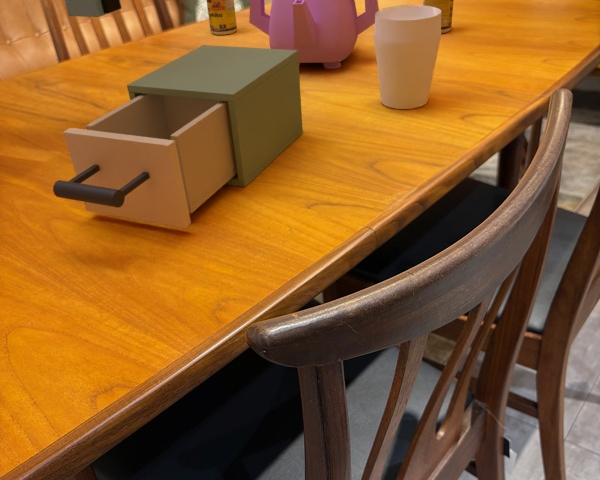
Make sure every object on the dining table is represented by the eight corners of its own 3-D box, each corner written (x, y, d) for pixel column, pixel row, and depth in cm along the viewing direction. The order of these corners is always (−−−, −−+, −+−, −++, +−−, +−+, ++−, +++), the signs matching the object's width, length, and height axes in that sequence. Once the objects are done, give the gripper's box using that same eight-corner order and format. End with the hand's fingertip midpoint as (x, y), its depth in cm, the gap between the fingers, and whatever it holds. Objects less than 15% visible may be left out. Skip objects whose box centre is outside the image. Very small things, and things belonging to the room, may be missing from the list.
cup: (391, 88, 94) (394, 2, 87) (446, 96, 89) (454, 7, 82) (361, 107, 88) (361, 17, 81) (418, 116, 84) (423, 23, 76)
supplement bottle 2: (453, 33, 117) (458, -27, 111) (423, 35, 117) (427, -25, 111) (448, 26, 121) (453, -32, 115) (419, 28, 122) (422, -30, 115)
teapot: (325, 39, 119) (322, -49, 110) (390, 57, 107) (393, -41, 97) (242, 62, 110) (231, -32, 101) (302, 84, 98) (295, -21, 89)
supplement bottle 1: (205, 34, 128) (197, -21, 122) (223, 27, 132) (216, -26, 126) (224, 36, 125) (217, -19, 119) (242, 30, 129) (236, -24, 123)
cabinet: (245, 187, 70) (233, 94, 63) (146, 172, 74) (126, 85, 68) (302, 133, 82) (297, 50, 75) (214, 123, 86) (203, 44, 80)
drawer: (151, 259, 57) (130, 172, 52) (49, 238, 61) (19, 155, 56) (255, 165, 72) (246, 90, 67) (167, 153, 77) (152, 82, 71)
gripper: (126, -225, 67) (167, 5, 81) (2, -209, 73) (60, 3, 87) (83, -229, 62) (134, 18, 76) (-47, -211, 68) (23, 15, 82)
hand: (95, 9), depth 81 cm, fingers closed on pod, 5 cm apart
